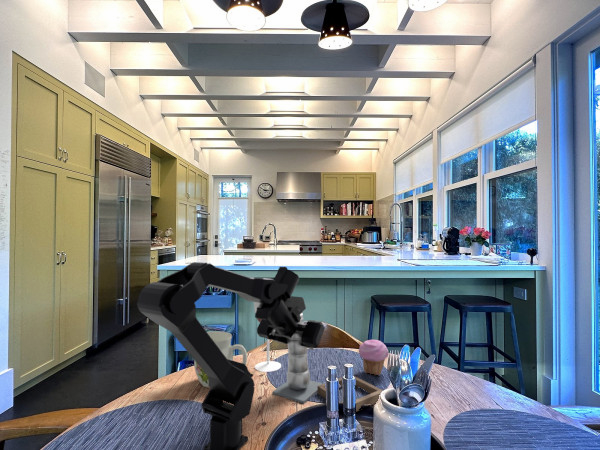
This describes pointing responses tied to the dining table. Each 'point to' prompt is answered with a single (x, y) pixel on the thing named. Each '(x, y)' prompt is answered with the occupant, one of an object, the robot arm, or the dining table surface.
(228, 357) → the pitcher
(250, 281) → the robot arm
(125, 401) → the dining table surface
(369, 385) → the caddy frame
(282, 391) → the slate mat
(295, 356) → the plastic bottle
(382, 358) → the cupcake
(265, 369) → the wineglass
